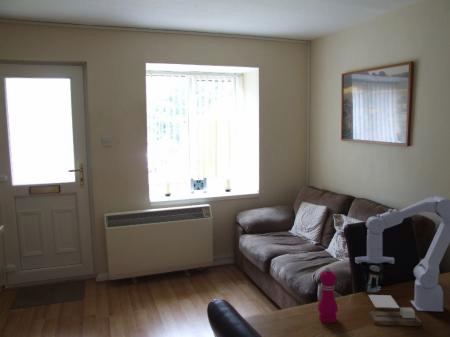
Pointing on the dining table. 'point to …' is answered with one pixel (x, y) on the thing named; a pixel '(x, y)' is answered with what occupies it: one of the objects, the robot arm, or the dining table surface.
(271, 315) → the dining table surface
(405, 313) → the switch tab
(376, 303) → the parts mat
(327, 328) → the dining table surface
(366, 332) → the dining table surface
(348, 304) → the dining table surface
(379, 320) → the switch board
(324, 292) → the pepper mill
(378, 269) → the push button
